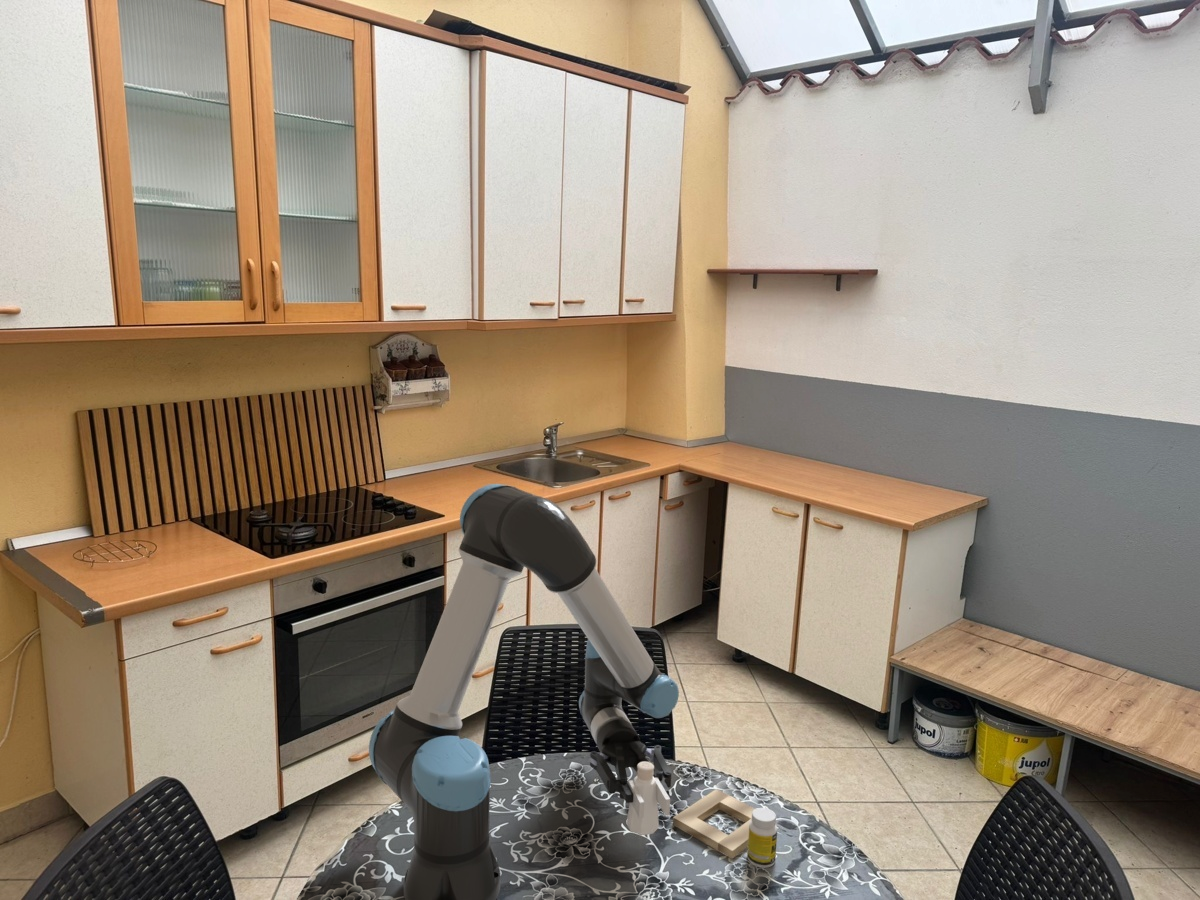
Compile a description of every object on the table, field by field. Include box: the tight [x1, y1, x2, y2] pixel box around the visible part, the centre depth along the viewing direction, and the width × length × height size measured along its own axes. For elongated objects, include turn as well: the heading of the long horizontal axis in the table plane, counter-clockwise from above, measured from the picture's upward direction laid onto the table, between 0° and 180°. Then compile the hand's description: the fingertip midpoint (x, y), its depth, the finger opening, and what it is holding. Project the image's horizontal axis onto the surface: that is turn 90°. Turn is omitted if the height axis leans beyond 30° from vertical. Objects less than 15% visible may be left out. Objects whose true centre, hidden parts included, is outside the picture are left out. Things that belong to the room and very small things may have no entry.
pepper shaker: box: [626, 761, 660, 836], centre depth 138 cm, size 5×5×11 cm
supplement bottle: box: [746, 807, 778, 869], centre depth 140 cm, size 5×5×8 cm
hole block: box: [672, 788, 756, 860], centre depth 149 cm, size 13×13×2 cm
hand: (654, 808), depth 132 cm, fingers closed on pepper shaker, 4 cm apart
